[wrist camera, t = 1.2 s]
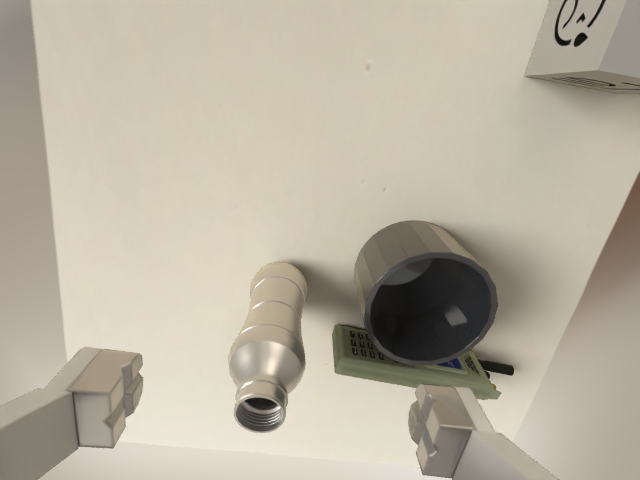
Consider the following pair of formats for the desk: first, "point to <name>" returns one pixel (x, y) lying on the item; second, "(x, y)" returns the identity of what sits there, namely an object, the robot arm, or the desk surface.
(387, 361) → the handheld radio
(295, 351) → the metal bottle
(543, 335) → the desk surface
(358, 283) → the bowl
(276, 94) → the desk surface
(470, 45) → the desk surface
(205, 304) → the desk surface
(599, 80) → the icon cube
